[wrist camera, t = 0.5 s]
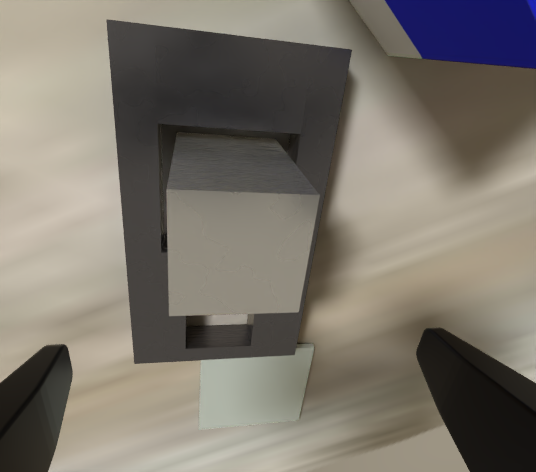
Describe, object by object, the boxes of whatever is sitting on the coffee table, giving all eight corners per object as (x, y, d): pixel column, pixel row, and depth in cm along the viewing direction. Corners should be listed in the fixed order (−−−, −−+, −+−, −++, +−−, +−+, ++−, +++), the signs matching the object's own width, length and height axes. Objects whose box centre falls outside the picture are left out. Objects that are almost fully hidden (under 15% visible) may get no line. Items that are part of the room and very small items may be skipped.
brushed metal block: (275, 138, 19) (319, 195, 12) (265, 224, 22) (298, 312, 15) (177, 132, 18) (166, 189, 11) (177, 222, 21) (169, 316, 14)
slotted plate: (336, 48, 18) (351, 49, 16) (288, 333, 26) (294, 355, 24) (116, 21, 16) (106, 19, 14) (138, 340, 24) (134, 363, 22)
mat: (312, 343, 27) (314, 347, 26) (297, 416, 30) (298, 420, 30) (201, 348, 25) (201, 352, 25) (198, 425, 29) (198, 429, 28)
